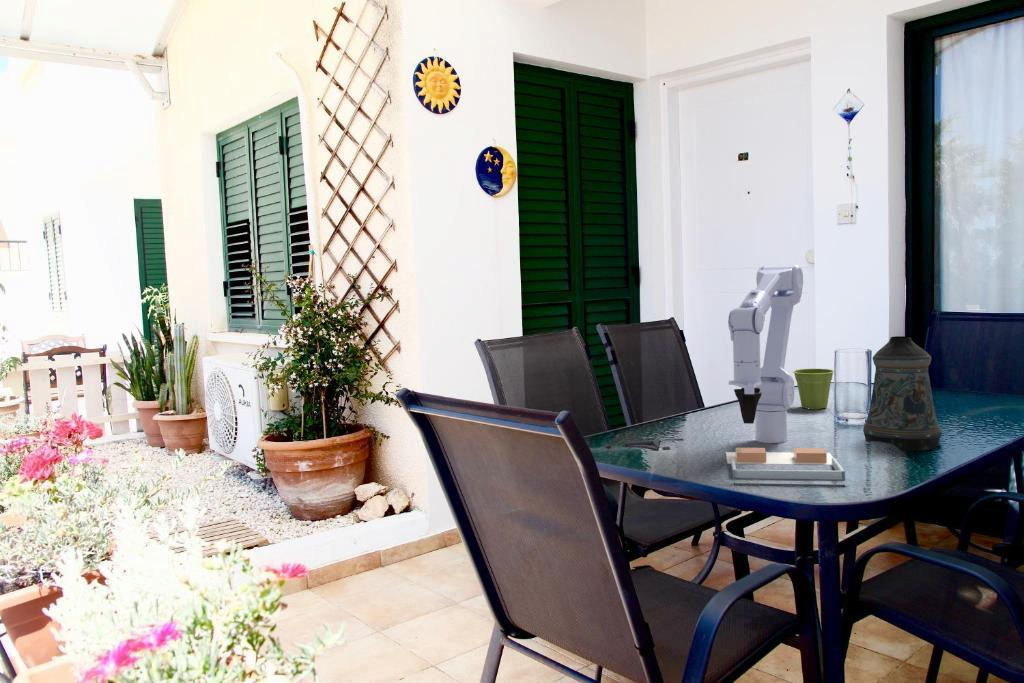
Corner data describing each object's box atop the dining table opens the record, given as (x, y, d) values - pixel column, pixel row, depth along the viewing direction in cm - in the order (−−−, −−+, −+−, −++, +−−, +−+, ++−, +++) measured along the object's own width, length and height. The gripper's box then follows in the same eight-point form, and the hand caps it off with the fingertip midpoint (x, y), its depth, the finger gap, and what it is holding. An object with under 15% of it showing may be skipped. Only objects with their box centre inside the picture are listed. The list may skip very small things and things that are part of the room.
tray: (731, 470, 169) (730, 456, 169) (834, 471, 164) (834, 457, 164) (733, 485, 157) (733, 470, 157) (845, 486, 153) (845, 471, 152)
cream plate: (725, 458, 180) (725, 452, 180) (829, 459, 175) (829, 452, 175) (727, 470, 169) (727, 463, 169) (838, 471, 164) (838, 464, 164)
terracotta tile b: (793, 457, 172) (793, 448, 172) (823, 457, 171) (822, 448, 171) (796, 462, 167) (796, 453, 167) (826, 462, 166) (826, 453, 166)
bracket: (637, 461, 184) (637, 449, 184) (625, 447, 199) (624, 436, 199) (699, 458, 185) (698, 446, 185) (682, 444, 200) (681, 434, 200)
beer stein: (894, 453, 178) (893, 341, 176) (841, 437, 197) (840, 336, 195) (958, 447, 181) (958, 337, 180) (900, 432, 200) (899, 332, 199)
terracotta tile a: (735, 456, 175) (735, 447, 175) (764, 456, 174) (764, 447, 173) (737, 461, 170) (736, 452, 170) (766, 462, 169) (766, 452, 169)
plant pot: (788, 405, 247) (787, 369, 246) (827, 404, 246) (826, 367, 245) (800, 411, 235) (799, 373, 234) (841, 410, 234) (840, 372, 233)
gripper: (727, 358, 185) (728, 416, 186) (729, 365, 171) (730, 427, 172) (758, 357, 183) (759, 416, 184) (763, 364, 169) (765, 427, 170)
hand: (748, 421), depth 178 cm, fingers open, 3 cm apart
